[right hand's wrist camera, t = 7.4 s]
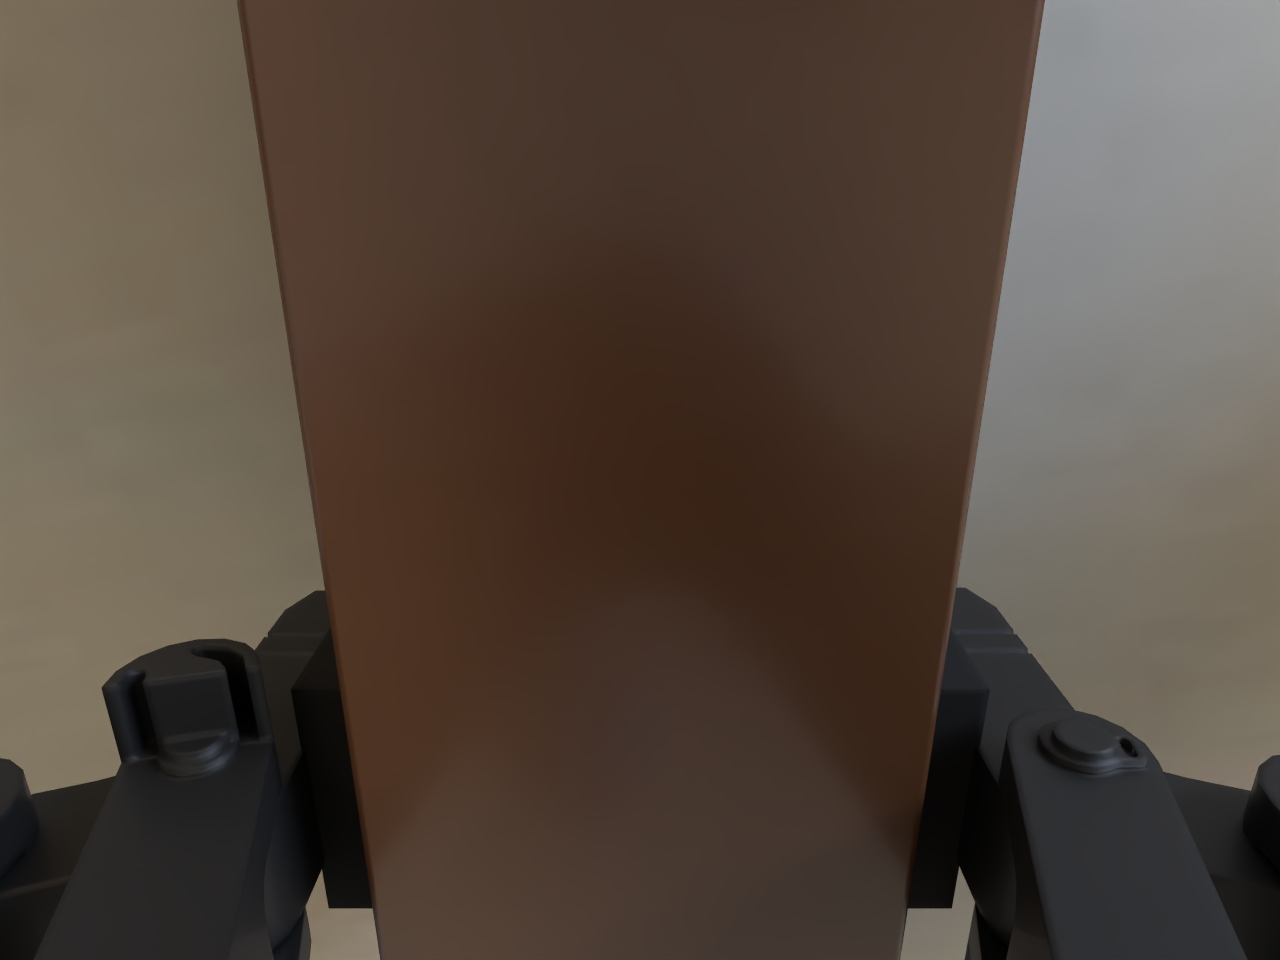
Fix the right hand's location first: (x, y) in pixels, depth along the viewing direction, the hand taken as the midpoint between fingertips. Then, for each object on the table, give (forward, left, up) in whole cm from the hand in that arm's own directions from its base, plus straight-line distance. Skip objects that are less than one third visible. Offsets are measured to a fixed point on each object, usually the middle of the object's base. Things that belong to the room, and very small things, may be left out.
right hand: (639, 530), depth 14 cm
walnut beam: (0, +10, -1) cm, 10 cm away
